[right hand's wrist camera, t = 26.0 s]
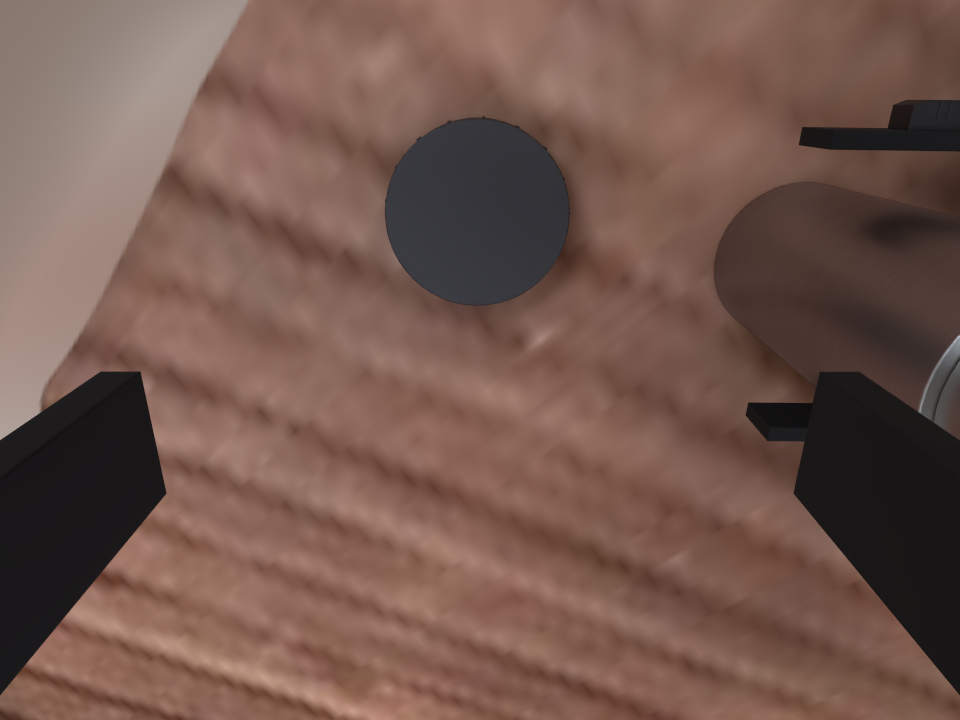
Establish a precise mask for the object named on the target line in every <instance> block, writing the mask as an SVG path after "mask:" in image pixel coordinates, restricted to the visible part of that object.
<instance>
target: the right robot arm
mask: <svg viewBox="0 0 960 720" xmlns="http://www.w3.org/2000/svg"><path fill="white" fill-rule="evenodd" d="M165 494H166V489H165V484H164V480H163V475H162V470H161V466H160V461H159V456H158V452H157V447H156V442H155V438H154V433H153V428H152V424H151V419H150V414H149V410H148V405H147V400H146V396H145V391H144V386H143V382H142V377H141V372H100V373H98V374H97V375H95V376H94V377H92V378H91V379H89V380H88V381H86V382H85V383H83V384H82V385H80V386H79V387H78V388H76V389H75V390H73V391H72V392H70V393H69V394H67V395H66V396H64V397H63V398H61V399H60V400H59V401H57V402H56V403H54V404H53V405H51V406H50V407H48V408H47V409H45V410H44V411H42V412H41V413H39V414H38V415H37V416H35V417H34V418H32V419H31V420H29V421H28V422H26V423H25V424H23V425H22V426H20V427H19V428H17V429H16V430H15V431H13V432H12V433H10V434H9V435H7V436H6V437H4V438H3V439H1V440H0V695H1V694H2V692H3V691H4V690H5V689H6V688H7V686H8V685H9V684H10V683H11V681H12V680H13V679H14V678H15V677H16V675H17V674H18V673H19V672H20V671H21V669H22V668H23V667H24V666H25V664H26V663H27V662H28V661H29V660H30V658H31V657H32V656H33V655H34V654H35V652H36V651H37V650H38V649H39V647H40V646H41V645H42V644H43V643H44V641H45V640H46V639H47V638H48V637H49V635H50V634H51V633H52V632H53V630H54V629H55V628H56V627H57V626H58V624H59V623H60V622H61V621H62V620H63V618H64V617H65V616H66V615H67V613H68V612H69V611H70V610H71V609H72V607H73V606H74V605H75V604H76V603H77V601H78V600H79V599H80V598H81V596H82V595H83V594H84V593H85V592H86V590H87V589H88V588H89V587H90V586H91V584H92V583H93V582H94V581H95V579H96V578H97V577H98V576H99V575H100V573H101V572H102V571H103V570H104V569H105V567H106V566H107V565H108V564H109V562H110V561H111V560H112V559H113V558H114V556H115V555H116V554H117V553H118V552H119V550H120V549H121V548H122V547H123V545H124V544H125V543H126V542H127V541H128V539H129V538H130V537H131V536H132V535H133V533H134V532H135V531H136V530H137V528H138V527H139V526H140V525H141V524H142V522H143V521H144V520H145V519H146V518H147V516H148V515H149V514H150V513H151V511H152V510H153V509H154V508H155V507H156V505H157V504H158V503H159V502H160V501H161V499H162V498H163V497H164V496H165ZM794 494H795V496H796V497H797V498H798V499H799V501H800V502H801V503H802V504H803V505H804V507H805V508H806V509H807V510H808V511H809V513H810V514H811V515H812V516H813V518H814V519H815V520H816V521H817V522H818V524H819V525H820V526H821V527H822V528H823V530H824V531H825V532H826V533H827V535H828V536H829V537H830V538H831V539H832V541H833V542H834V543H835V544H836V545H837V547H838V548H839V549H840V550H841V552H842V553H843V554H844V555H845V556H846V558H847V559H848V560H849V561H850V562H851V564H852V565H853V566H854V567H855V569H856V570H857V571H858V572H859V573H860V575H861V576H862V577H863V578H864V579H865V581H866V582H867V583H868V584H869V586H870V587H871V588H872V589H873V590H874V592H875V593H876V594H877V595H878V596H879V598H880V599H881V600H882V601H883V603H884V604H885V605H886V606H887V607H888V609H889V610H890V611H891V612H892V613H893V615H894V616H895V617H896V618H897V620H898V621H899V622H900V623H901V624H902V626H903V627H904V628H905V629H906V630H907V632H908V633H909V634H910V635H911V637H912V638H913V639H914V640H915V641H916V643H917V644H918V645H919V646H920V647H921V649H922V650H923V651H924V652H925V654H926V655H927V656H928V657H929V658H930V660H931V661H932V662H933V663H934V664H935V666H936V667H937V668H938V669H939V671H940V672H941V673H942V674H943V675H944V677H945V678H946V679H947V680H948V681H949V683H950V684H951V685H952V686H953V688H954V689H955V690H956V691H957V692H958V694H959V695H960V440H959V439H957V438H956V437H954V436H953V435H951V434H950V433H948V432H947V431H945V430H944V429H943V428H941V427H940V426H938V425H937V424H935V423H934V422H932V421H931V420H929V419H928V418H926V417H925V416H923V415H922V414H921V413H919V412H918V411H916V410H915V409H913V408H912V407H910V406H909V405H907V404H906V403H904V402H903V401H901V400H900V399H899V398H897V397H896V396H894V395H893V394H891V393H890V392H888V391H887V390H885V389H884V388H882V387H881V386H880V385H878V384H877V383H875V382H874V381H872V380H871V379H869V378H868V377H866V376H865V375H863V374H862V373H860V372H819V377H818V382H817V386H816V391H815V396H814V400H813V405H812V410H811V414H810V419H809V424H808V428H807V433H806V438H805V442H804V447H803V452H802V456H801V461H800V466H799V470H798V475H797V480H796V484H795V489H794Z"/></svg>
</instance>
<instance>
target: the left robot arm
mask: <svg viewBox="0 0 960 720" xmlns="http://www.w3.org/2000/svg"><path fill="white" fill-rule="evenodd" d="M799 145H802V146H809V147H816V148H823V149H833V150H905V151H960V101H958V100H905V101H903V102H900V103H897V104H895V105H893V109H892V113H891V117H890V121H889V125H888V128H826V127H802V131H801V137H800V142H799ZM812 405H813V403H748V407H747V412H746V416H747V417H748V419H749V420H750V421H751V422H752V423H753V424H754V426H755V427H756V428H757V429H758V430H759V432H760V433H761V434H762V435H763V436H764V437H765V439H766V440H767V441H805V438H806V433H807V428H808V424H809V419H810V414H811V410H812Z"/></svg>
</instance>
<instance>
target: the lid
mask: <svg viewBox="0 0 960 720" xmlns="http://www.w3.org/2000/svg"><path fill="white" fill-rule="evenodd" d="M564 180H565V179H564V178H563V177H562V174H561V172H560V170H559V168H558V166H557V165H556V163H555V161H554V160H553V158H552V157H551V156H550V154H549V153H548V152H547V148H546V147H544V146H542V145H541V144H540V143H539V142H538V141H536V140H535V139H534V138H532V137H531V136H530V135H529V134H527V133H526V132H524V131H522V130H521V129H519V126H517V125H516V126H513V125H511V124H508V123H506V122H503V121H499V120H495V119H489V118H485V116H483V118H466V119H460V120H455V121H452V122H451V120H449V121H448V122H447V123H446V124H444V125H442V126H440V127H438V128H436V129H434V130H432V131H431V132H429V133H428V134H426V135H425V136H423V137H422V138H421V137H419V138H418V139H417V142H416V143H415V144H414V145H413V146H412V147H411V148H410V149H409V150H408V151H407V152H406V154H405V155H404V156H403V157H402V159H401V161H400V162H399V164H398V165H397V166H395V171H394V173H393V176H392V178H391V181H390V184H389V187H388V191H387V197H386V200H385V202H386V203H385V219H386V228H387V232H388V237H389V240H390V243H391V246H392V249H393V251H394V253H395V255H396V257H397V259H398V261H399V262H400V263H401V265H402V266H403V268H404V269H405V271H406V272H407V273H408V274H409V275H410V276H411V277H412V278H413V279H414V280H415V281H416V282H417V283H418V284H419V285H421V286H422V287H423V288H425V289H426V290H428V291H429V292H431V293H432V294H434V295H436V296H438V297H440V298H443V299H445V300H448V301H451V302H455V303H459V304H465V305H490V304H496V303H500V302H503V301H507V300H510V299H512V298H514V297H517V296H519V295H521V294H522V293H524V292H526V291H527V290H529V289H530V288H532V287H533V286H534V285H535V284H537V283H538V282H539V281H540V280H541V279H542V278H543V277H544V276H545V275H546V274H547V273H548V271H549V270H550V269H551V267H552V266H553V265H554V263H555V261H556V260H557V258H558V256H559V255H560V252H561V250H562V248H563V245H564V242H565V239H566V235H567V232H568V225H569V215H570V212H569V199H568V193H567V189H566V185H565V182H564Z"/></svg>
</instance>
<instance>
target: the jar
mask: <svg viewBox="0 0 960 720" xmlns="http://www.w3.org/2000/svg"><path fill="white" fill-rule="evenodd" d="M714 276H715V285H716V289H717V292H718V295H719V297H720V300H721V302H722V303H723V305H724V307H725V308H726V309H727V311H728V312H729V313H730V314H731V315H732V316H733V317H734V318H735V319H736V320H737V321H739V322H740V323H741V324H742V325H743V326H744V327H746V328H747V329H748V330H749V331H750V332H751V333H753V334H754V335H755V336H756V337H757V338H759V339H760V340H761V341H762V342H763V343H764V344H766V345H767V346H768V347H769V348H770V349H771V350H773V351H774V352H775V353H776V354H777V355H779V356H780V357H781V358H782V359H783V360H784V361H786V362H787V363H788V364H789V365H790V366H791V367H793V368H794V369H795V370H796V371H797V372H799V373H800V374H801V375H802V376H803V377H804V378H806V379H807V380H808V381H809V382H810V383H811V384H813V385H814V386H815V387H816V386H817V382H818V377H819V372H860V373H862V374H863V375H865V376H866V377H868V378H869V379H871V380H872V381H874V382H875V383H877V384H878V385H880V386H881V387H882V388H884V389H885V390H887V391H888V392H890V393H891V394H893V395H894V396H896V397H897V398H899V399H900V400H901V401H903V402H904V403H906V404H907V405H909V406H910V407H912V408H913V409H915V410H916V411H918V412H919V413H921V414H922V415H923V416H925V417H926V418H928V419H929V420H931V421H932V422H934V423H935V424H937V425H938V426H940V427H941V428H943V429H944V430H945V431H947V432H948V433H950V434H951V435H953V436H954V437H956V438H957V439H959V440H960V217H957V216H953V215H949V214H945V213H941V212H936V211H932V210H928V209H924V208H920V207H916V206H912V205H908V204H904V203H899V202H895V201H891V200H887V199H883V198H879V197H875V196H871V195H866V194H862V193H858V192H854V191H850V190H846V189H842V188H838V187H834V186H829V185H825V184H820V183H813V182H801V183H793V184H788V185H784V186H781V187H778V188H775V189H772V190H770V191H768V192H766V193H765V194H763V195H761V196H759V197H758V198H756V199H755V200H753V201H752V202H751V203H750V204H748V205H747V206H746V207H745V208H744V209H743V210H742V211H741V212H740V213H739V214H738V215H737V216H736V217H735V218H734V220H733V221H732V222H731V224H730V225H729V227H728V228H727V230H726V232H725V233H724V235H723V237H722V240H721V242H720V244H719V247H718V251H717V254H716V259H715V268H714Z"/></svg>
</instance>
